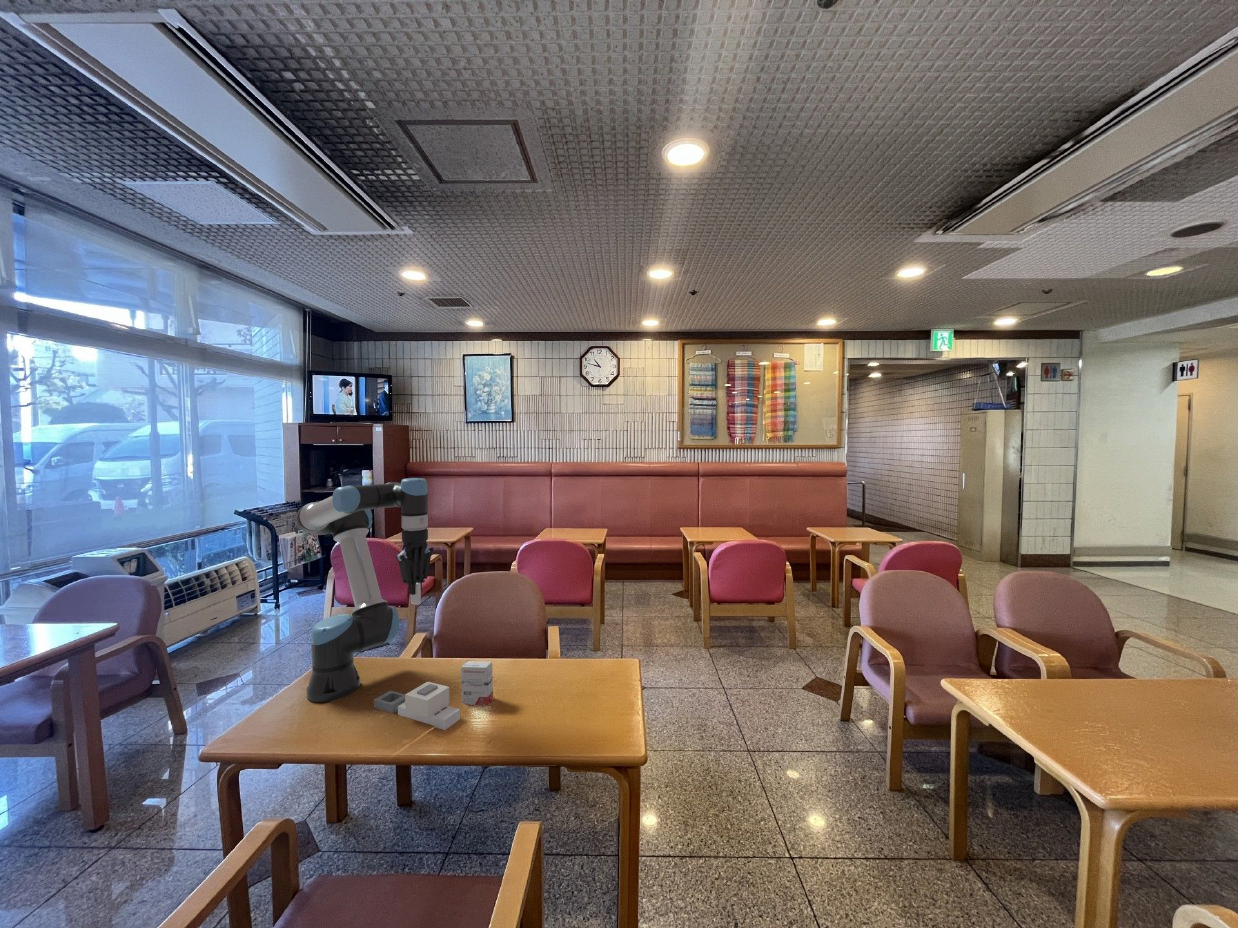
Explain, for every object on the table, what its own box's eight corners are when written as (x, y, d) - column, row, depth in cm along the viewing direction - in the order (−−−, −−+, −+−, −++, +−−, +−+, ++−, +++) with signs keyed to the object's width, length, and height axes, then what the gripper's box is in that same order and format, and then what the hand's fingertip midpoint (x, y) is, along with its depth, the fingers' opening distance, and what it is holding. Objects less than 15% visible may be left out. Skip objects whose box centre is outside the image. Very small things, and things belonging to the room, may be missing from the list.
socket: (398, 716, 145) (397, 704, 145) (414, 706, 151) (413, 694, 150) (444, 730, 138) (444, 717, 138) (460, 719, 143) (459, 706, 143)
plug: (405, 719, 142) (404, 692, 142) (428, 705, 150) (427, 679, 150) (427, 726, 139) (427, 698, 138) (449, 711, 146) (449, 684, 146)
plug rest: (373, 709, 149) (373, 699, 149) (390, 699, 155) (390, 690, 155) (393, 714, 146) (392, 704, 146) (409, 705, 151) (409, 695, 151)
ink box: (494, 697, 155) (493, 660, 155) (488, 705, 151) (487, 667, 150) (467, 696, 156) (466, 659, 156) (461, 704, 151) (460, 666, 151)
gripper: (406, 533, 145) (407, 612, 146) (439, 526, 156) (440, 599, 158) (388, 530, 148) (389, 608, 149) (422, 524, 160) (423, 596, 161)
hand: (415, 603), depth 153 cm, fingers closed
